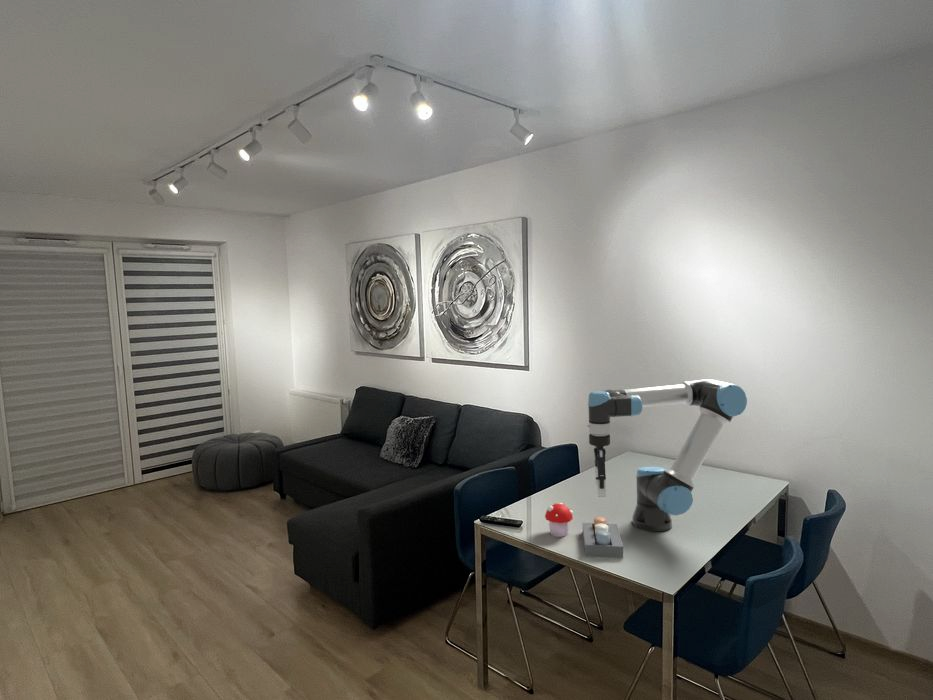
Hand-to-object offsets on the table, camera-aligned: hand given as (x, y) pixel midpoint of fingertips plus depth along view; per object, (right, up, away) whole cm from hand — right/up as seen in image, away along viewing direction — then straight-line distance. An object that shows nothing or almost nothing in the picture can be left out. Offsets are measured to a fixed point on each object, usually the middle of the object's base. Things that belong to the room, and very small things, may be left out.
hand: (600, 490), depth 198 cm
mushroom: (-13, -20, +12) cm, 27 cm away
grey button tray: (+1, -20, +1) cm, 21 cm away
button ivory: (+1, -18, +1) cm, 18 cm away
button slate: (0, -19, -5) cm, 19 cm away
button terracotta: (+2, -18, +8) cm, 19 cm away
